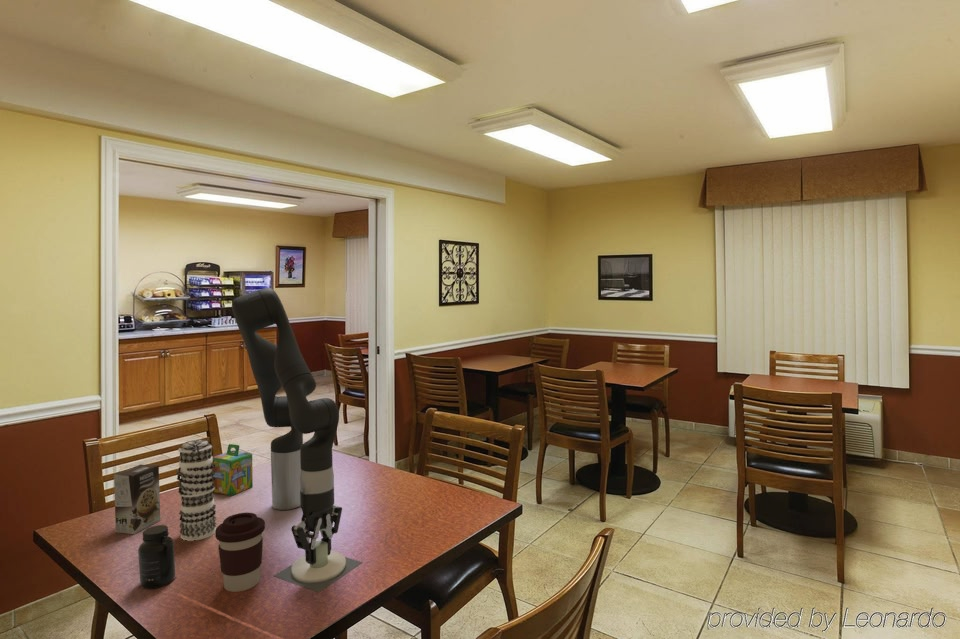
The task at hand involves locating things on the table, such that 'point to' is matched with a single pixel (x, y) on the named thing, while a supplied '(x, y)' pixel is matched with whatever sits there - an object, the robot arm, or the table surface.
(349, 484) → the table surface
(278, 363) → the robot arm
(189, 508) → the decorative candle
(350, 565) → the mat
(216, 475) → the chalk box
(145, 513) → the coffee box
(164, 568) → the supplement bottle
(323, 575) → the lid
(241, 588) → the coffee cup
